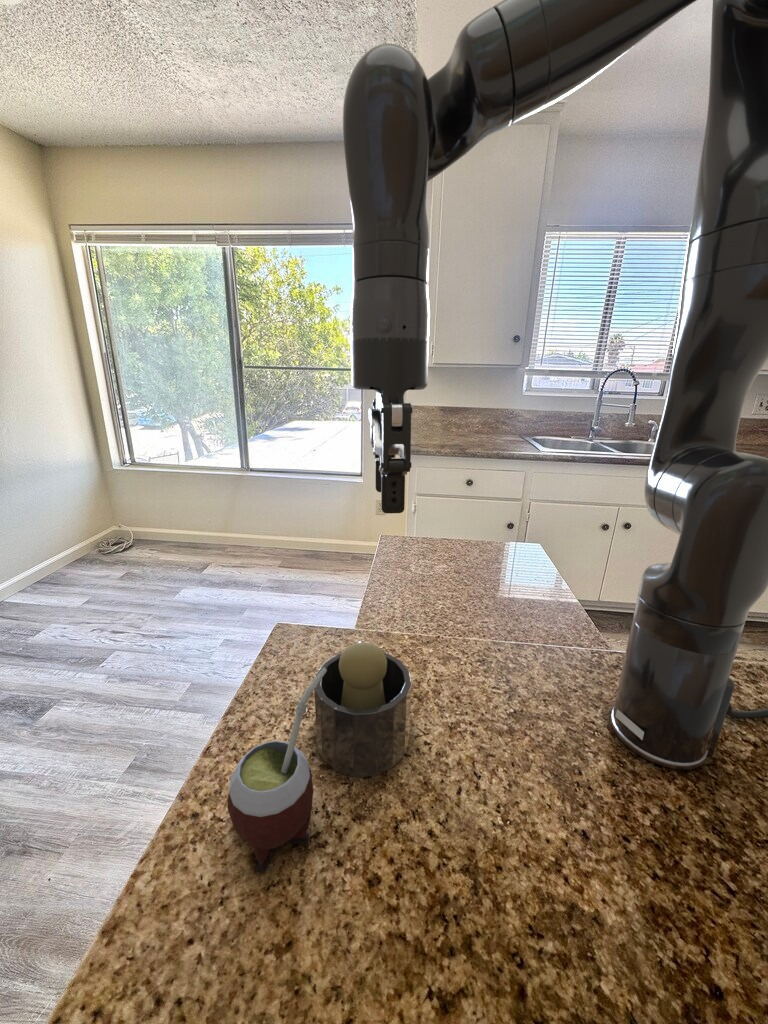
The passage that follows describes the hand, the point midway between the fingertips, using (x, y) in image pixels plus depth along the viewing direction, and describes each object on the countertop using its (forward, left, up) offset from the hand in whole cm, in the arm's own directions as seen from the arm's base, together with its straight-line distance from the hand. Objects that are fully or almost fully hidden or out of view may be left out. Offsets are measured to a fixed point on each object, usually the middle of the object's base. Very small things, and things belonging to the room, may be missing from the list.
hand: (388, 500), depth 45 cm
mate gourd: (+11, +15, -27) cm, 33 cm away
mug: (+3, +3, -27) cm, 27 cm away
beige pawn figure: (+3, +5, -27) cm, 27 cm away
